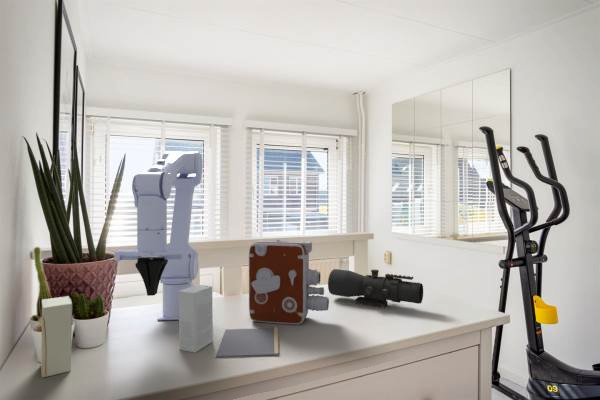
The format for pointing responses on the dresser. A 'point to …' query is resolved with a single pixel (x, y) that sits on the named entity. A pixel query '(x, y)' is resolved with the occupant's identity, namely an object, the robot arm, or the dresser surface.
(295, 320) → the cine camera
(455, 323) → the dresser surface
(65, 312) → the skincare box
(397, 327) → the dresser surface
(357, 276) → the rifle scope
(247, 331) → the rubber mat
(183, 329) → the skincare box
